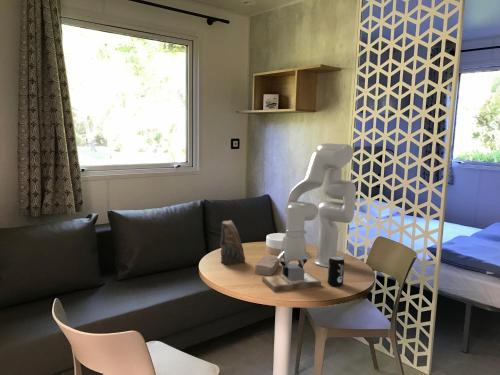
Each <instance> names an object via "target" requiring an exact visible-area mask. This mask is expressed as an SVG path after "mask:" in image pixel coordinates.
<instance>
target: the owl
mask: <svg viewBox="0 0 500 375" xmlns="http://www.w3.org/2000/svg"><path fill="white" fill-rule="evenodd" d="M220 229H221V230H220V231H221V234H220V235H219V238H220V240H219V241H220V245H219V246H220V256H221V257H220V259H221V261H220V263H221V264H222V265H224V266H225V265H228V266H232V265H239V264H240V263H241V264H245V263H246V256H245V252H244V247H243V244H242V241H241V238H240V234H239V231H238V229H237V226H235V223H234V222H233V221H232V220H231V219H229V220H223V221H221V226H220Z"/></svg>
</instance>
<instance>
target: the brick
mask: <svg viewBox="0 0 500 375" xmlns="http://www.w3.org/2000/svg"><path fill="white" fill-rule="evenodd" d="M277 257H278V256H276V255H265V254H264V255H262V257H261V258H260V259H259V260H258V261H257V262H256V263H255V267H254V274H257V275H262V276H273V274H274V273H275V271H276V270H277V269H278V267H279V265H280V264H281V263H280V262H279V261H278V260H277Z"/></svg>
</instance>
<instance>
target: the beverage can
mask: <svg viewBox="0 0 500 375" xmlns="http://www.w3.org/2000/svg"><path fill="white" fill-rule="evenodd" d="M341 256H342V255H340V256H330V259H329V265H328V267H327V283H328V285H329V286H330V287H336V288H337V287H342V286H343V285H344V276H345V274H344V273H345V259H344V258H343V257H341Z"/></svg>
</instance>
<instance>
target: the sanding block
mask: <svg viewBox="0 0 500 375" xmlns="http://www.w3.org/2000/svg"><path fill="white" fill-rule="evenodd" d="M287 267H288V277H286V276H284V274H283V266H282V265H281V275H282V276H283V277H284V278H285V279H287V280H288V281H289V282H291V283H294V282H303V281H304V273H305V269H304V268H303V269H302V268H301V267H299V266H298V264H296V263H289V264H288V266H287Z"/></svg>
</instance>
